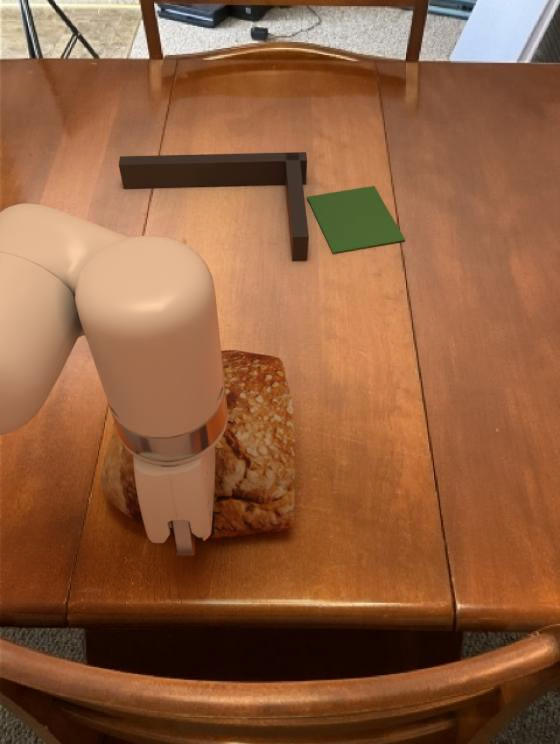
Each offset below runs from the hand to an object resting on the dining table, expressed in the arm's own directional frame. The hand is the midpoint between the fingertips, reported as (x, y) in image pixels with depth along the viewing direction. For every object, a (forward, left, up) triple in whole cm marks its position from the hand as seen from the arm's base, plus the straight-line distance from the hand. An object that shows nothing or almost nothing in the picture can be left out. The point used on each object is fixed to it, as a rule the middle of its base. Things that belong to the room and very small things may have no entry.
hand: (196, 527), depth 59 cm
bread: (0, +11, -5) cm, 11 cm away
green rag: (+20, +47, -4) cm, 51 cm away
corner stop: (+1, +48, -4) cm, 48 cm away
